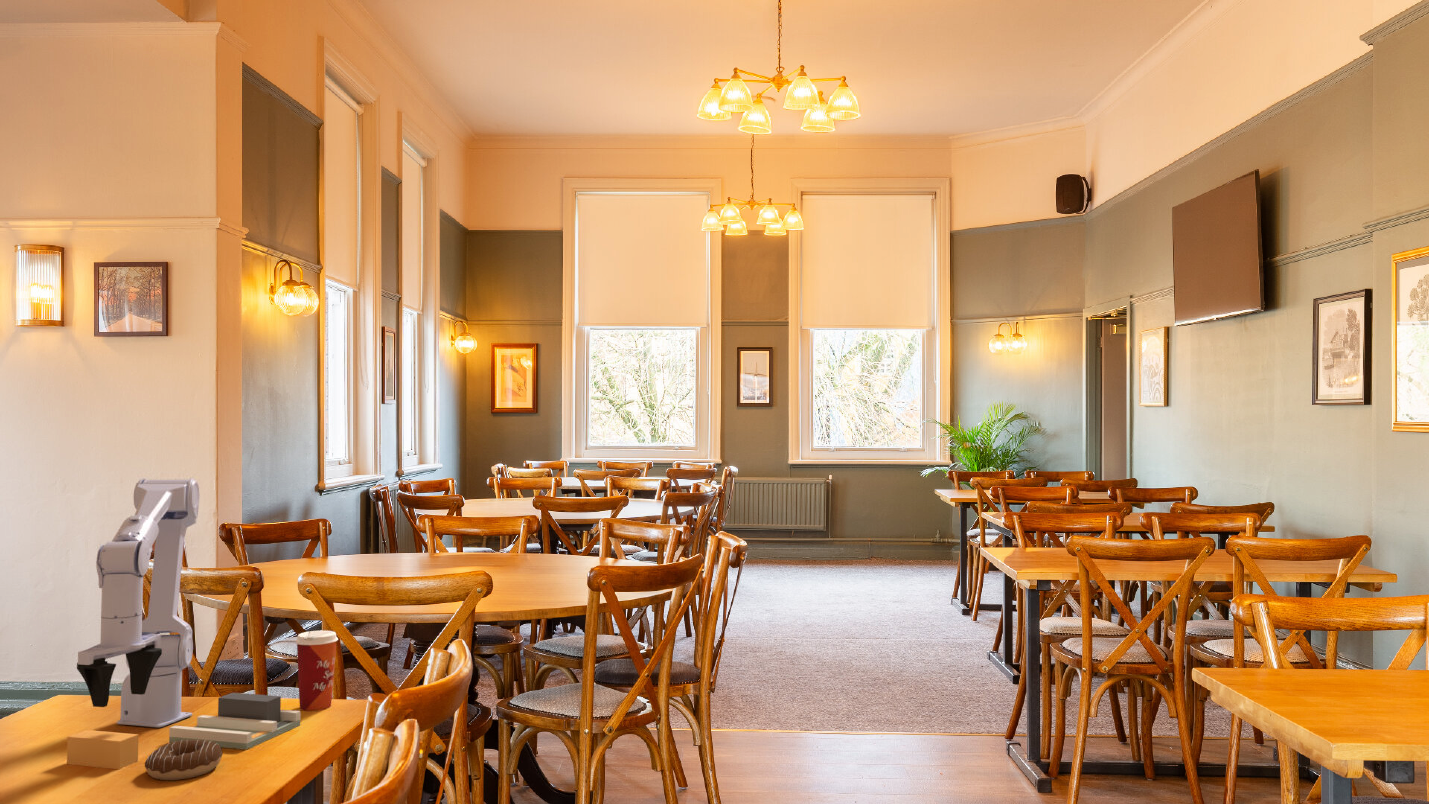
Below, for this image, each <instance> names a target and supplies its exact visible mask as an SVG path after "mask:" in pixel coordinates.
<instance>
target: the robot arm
mask: <svg viewBox="0 0 1429 804" xmlns="http://www.w3.org/2000/svg"><path fill="white" fill-rule="evenodd" d="M133 490H134V491H133V505H134V508H135V510H136V511H135V514H134V515H131V516H129V517H127V518H126V519H125V520H123V522H122V524H121V526H119V529H118V530H117V532H116V534H115V535H114V537H113V539H112V540H111V541H107V542H106V543H105V544H101V545H100V546H99V548H98V550H97V555H96V561H95V562H96V563H95V564H96V565H95V567H96V573H97V576H98V588H99V589H101V605H100V606H101V607H100V609H101V611H100V612H101V613H100V641H99V642H100V643H98V644H95V645H93V646H92V647H89V648H87V649H84V650H81V651H78V652H77V653H78V654H77V663H76V669H77V671H78V672H79V674H80V675H81V677H82V679H83V680H84V682H85V685H86V686H87V689H88V694H89V695H90V699H91V703H92V707H97V708H106V707H108V704H109V699H110V688H111V682H112V678H113V675H114V671H115V668H116V666H117V664H116V663H110V662H108V661H106V660H107V659H111V658H114V657H119V656H122V655H125V662H126V663H125V664H126V666H127V668H128V669H129V673H128V674H127V675H126V676H125V677H124V680H123V681H122V684H121V691H120V719H119V720H117V721H116V724H117V725H127V726H136V727H137V726H139V727H147V728H149V727H150V728H163V727H165V726H167V725H168V726H169V725H170V724H173V723H177V722H179V721H181V720H184V719H186V718H189V717H191V716H193V712H186V711H182V689H183V688H182V682H183V681H182V680H183V678H182V677H183V670H184V669H186V668H187V667H188V666H189V665H190V664H191V662H192V659H193V654H194V653H193V650H194V642H193V641H194V640H193V628H192V627H191V625H190V624H189V623H188V622H187V621H185V620H183V619H182V618H180V617H179V616H178V608H179V598H180V597H179V596H180V590H181V589H180V587H181V577H182V565H183V557H184V556H183V555H184V544H185V536H186V534H187V530H188V527H192V526H193V525H194V524H196V523H197V520H198V518H199V517H198V516H199V507H200V497H201V496H200V487H199V483H198V482H197V480H196V479H195V478H188V479H185V478H183V479H181V478H180V479H179V478H177V479H176V478H175V479H171V478H170V479H146V478H141V479H139V480H138V481H137V482H136V484H135V486H134V489H133ZM154 543H155V545H154ZM153 545H154V554H153V556H154V557H153V564H152V565H153V566H152V573H151V574H152V576H151V584H150V592H149V593H150V594H149V603H148V613H147V617H146V618H145V619H143V598H144V597H143V595H144V588H143V587H144V576H145V575H146V574H147V573H148V569H149V563H150V558H151V556H152V554H151V553H152V552H151V549H152V547H153ZM168 633H170V634H168ZM173 633H175V634H173Z"/></svg>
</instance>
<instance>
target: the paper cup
mask: <svg viewBox="0 0 1429 804" xmlns="http://www.w3.org/2000/svg"><path fill="white" fill-rule="evenodd" d="M337 641H339V638H338V637H337V633H336V631H333V630H326V629H325V630H311V631H305V632H301V633H298V635H297V638H296V640H295V644H296V649H297V650H296V651H297V675H298V678H297V679H298V680H297V681H298V697H299V709H300V710H301V711H305V712H314V711H323V710H326V709H329V708H331V706H332V702H333V701H332V699H333V690H334V689H333V687H334V678H335V677H334V676H335V662H336V652H337V650H336V649H337Z"/></svg>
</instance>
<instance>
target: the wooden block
mask: <svg viewBox="0 0 1429 804" xmlns="http://www.w3.org/2000/svg"><path fill="white" fill-rule="evenodd" d="M66 741H67V742H66V743H67V746H66V756H67V757H66V764H67V765H73V766H84V767H93V768H103V769H104V768H105V769H113V770H115V769H116V770H122V769H124V768H126V767H128V766H130V765H134V764H136V763H139V734H138V733H136V734H135V733H125V732H113V731H105V730H104V731H101V730H91V729H85V730H83V731H82V730H81V731H80V732H76V733H74V734H71V735H68V736H67V739H66ZM133 763H134V764H133ZM123 767H124V768H123Z"/></svg>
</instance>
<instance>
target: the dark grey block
mask: <svg viewBox="0 0 1429 804" xmlns="http://www.w3.org/2000/svg"><path fill="white" fill-rule="evenodd" d="M281 699H282V698H281V696H280V695H267V694H254V693H242V692H241V693H239V692H230V693H228V694H225V695H223V696H220V697H218V699H217V701H218V702H217V716H219V717H231V718H243V719H255V720H266V721H277V723H278V722H280V710H281V706H282V705H281V701H282V700H281Z"/></svg>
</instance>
